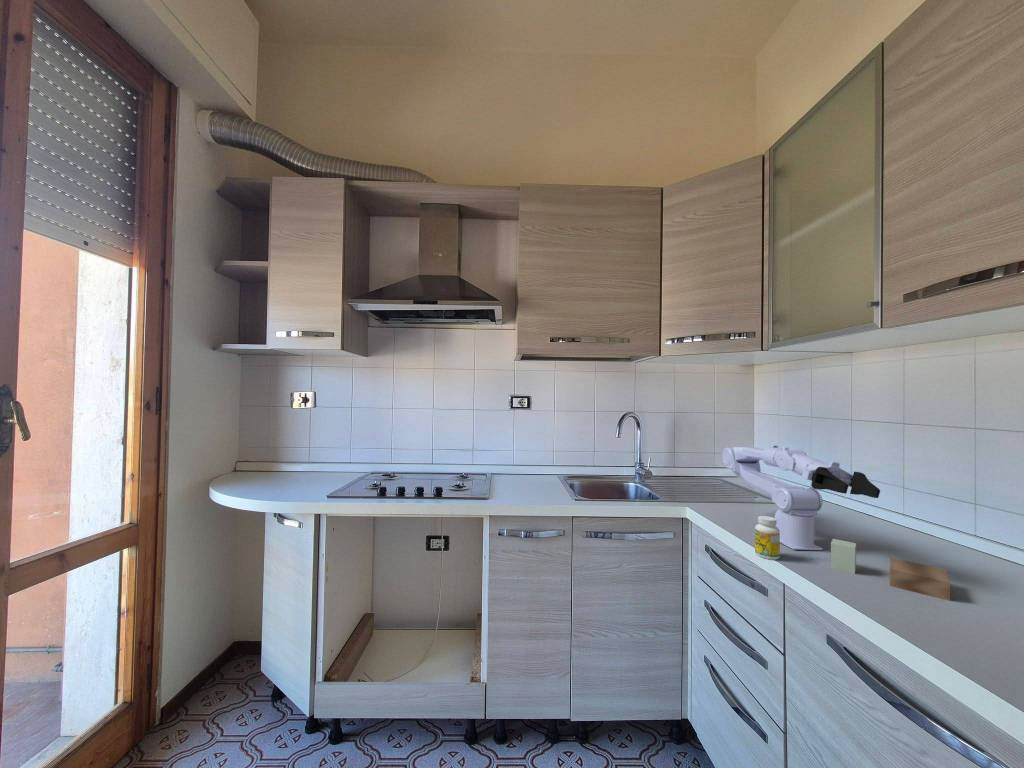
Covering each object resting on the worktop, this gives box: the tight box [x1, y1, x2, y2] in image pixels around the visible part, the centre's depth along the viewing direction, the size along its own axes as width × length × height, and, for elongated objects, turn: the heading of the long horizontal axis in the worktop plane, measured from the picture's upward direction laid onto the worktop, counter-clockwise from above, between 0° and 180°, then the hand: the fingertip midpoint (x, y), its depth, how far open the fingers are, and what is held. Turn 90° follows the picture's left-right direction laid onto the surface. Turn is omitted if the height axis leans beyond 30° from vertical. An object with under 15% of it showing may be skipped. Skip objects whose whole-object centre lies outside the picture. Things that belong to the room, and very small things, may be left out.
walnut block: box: [889, 557, 951, 602], centre depth 90 cm, size 9×9×4 cm
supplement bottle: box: [754, 515, 781, 561], centre depth 105 cm, size 5×5×10 cm
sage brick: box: [830, 538, 857, 575], centre depth 99 cm, size 4×4×6 cm
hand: (862, 491), depth 94 cm, fingers open, 7 cm apart
